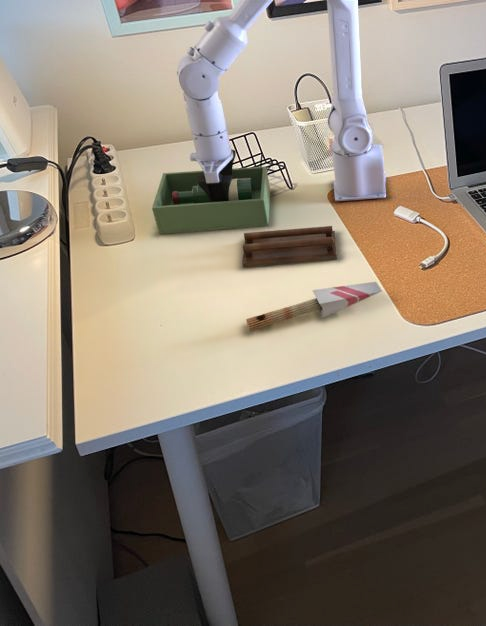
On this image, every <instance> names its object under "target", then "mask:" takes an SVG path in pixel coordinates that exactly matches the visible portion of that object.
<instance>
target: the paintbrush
mask: <svg viewBox="0 0 486 626" xmlns="http://www.w3.org/2000/svg"><path fill="white" fill-rule="evenodd" d="M311 291H312V293H313V295H314V297H315V298H313V299H310V300H306V301H302V302H299V303H296V304H292V305H289V306H285V307H282V308H279V309H275V310H271V311H268V312H265V313H262V314H259V315H255V316H252V317H248V318H246V319H245V321H246V324H247V328H248V331H249V332H251V331H255V330H258V329H261V328H264V327H267V326H272V325H274V324H277V323H278V324H279V323H281V322H285V321H287V320H288V321H289V320H290V319H293V318H297V317H300V316H303V315H306V314H310V313H313V312H316V311H318V313H319V316H320V317H321V318H322V319H324V318H326V317H328V316H331V315H333V314H335V313H337V312H341V311H342V310H344V309H346V308H348V307H350V306H353V305H356V304H357V303H360V302H362V301H365V300H367V299H368V298H370V297H373V296H375V295H377V294H379V293H381V292H383V290H382V288H381V286H380V285H379V284H378V282H377V281H371V282H363V283H355V284H349V285H341V286H333V287H326V288H325V287H324V288H319V289H312V290H311Z"/></svg>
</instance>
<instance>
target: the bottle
mask: <svg viewBox="0 0 486 626" xmlns="http://www.w3.org/2000/svg"><path fill="white" fill-rule="evenodd" d="M172 197H173V202H174V204H175V205H180V204H184V203H194V204H196V203H210V202H211V201H210V199H209V197H208V196H207V194H206V193H205V191H204V190H203V189H202V188H201V187H200V186H199V185H198V184H197V186H193V188H192V191H183V192H179V191H173V193H172ZM250 199H255V192H254V186H253V181H252V179H251V178H241V179H232V181H231V184H230V187H229V201H237V200H250Z"/></svg>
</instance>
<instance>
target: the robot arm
mask: <svg viewBox="0 0 486 626" xmlns="http://www.w3.org/2000/svg"><path fill="white" fill-rule="evenodd" d="M273 1H274V0H239V1H238V2H237V4H235V7H234V8H233V10H232V11H231V12H230V14H229V15H226V16H225V15H224V16H218V17H216V18H214V20H213V21H211V20H208V21H207V22H206V24H204V29H205V32H204V33H203V35H202V36H201V37H200V39H199V40H198V41H197V42H196V43H195V45H194V46H193V47H192V46H189V47H188V49H187V50H186V54H185V55H184V56H182V57H181V59H180V60H179V62H178V64H177V71H176V75H177V77H178V83H179V86H180V88H181V89H182V91H183V93H182V95H183V99H184V102H185V105H184V107H185V111H186V112H185V113H186V115H187V120H188V124H189V128H190V133H191V137H192V141H193V146H194V150H195V152H191V153H190V154H189V160H190V161H191V162H196V163H198V165H199V166H200V168H201V170H202V171H204V174H205V175H200V176H198V177H197V183H198V185H199V186H200V187H201V188H202V189H203V190H204V191H205V193H206V194H207V196H208V197H209V199H210V201H211V202H223V201H229V187H230V184H231V181H232V169H234V168H233V167H234V162H235V159H236V153H237V152H236V150H235V149H232V148H231V142H230V138H229V132H228V127H227V122H226V118H225V113H224V109H223V103H222V100H221V99H220V97H219V93H218V91H219V87H220V77H221V76H222V75H224V74H225V73H226V72H227V71H228V70H229V68H230V67H231V65H232V64H234V62H235V61H236V59H237V58H238V56H240V54H241V53H242V51H243V50H244V49H245V48H246V46H247V45H248V43H249V41H248V36H247V35H248V34H247V31H248V30H249V29H250V28H251V27H252V26H253V24H254V23H255V22H256V21H257V20H258V19H259V17H260V16H261V15H262V14H263V13H264V11H265V10H267V8H268V7H269V6H270V4H272V2H273ZM325 1H326V6H327V7H326V8H327V21H328V31H329V32H328V33H329V34H328V35H329V50H330V63H331V64H330V65H331V78H332V79H331V81H332V91H333V93H332V96H331V99H330V100H331V101H330V102H331V107H330V110H329V113H328V115H327V126H328V128H329V130H330V131H331V132H332V133H333V135H334V137H333V140H332V142H331V146H330V147H331V153H332V154H331V155H332V164H333V173H334V174H333V175H334V180H333V181H332V182H333V183H332V184H333V192H334V193H333V194H334V201H335V202H347V201H349V202H350V201H359V200H360V201H361V200H362V201H363V200H373V199H375V200H376V199H385V198H386V197H387V193H386V191H387V189H386V183H387V175H386V173H385V163H384V153H383V146H382V145H381V144H374V143H373V140H374V135H373V131H372V129H371V127H370V125H369V123H368V119H367V118H368V117H367V111H366V108H365V103H364V100H363V90H362V87H363V86H362V69H361V68H362V66H361V44H360V43H361V42H360V21H359V0H325Z"/></svg>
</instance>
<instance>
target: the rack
mask: <svg viewBox="0 0 486 626" xmlns="http://www.w3.org/2000/svg"><path fill="white" fill-rule="evenodd" d="M243 239H244V243H243V244H242V251H243V254H242V268H252V267H253V268H255V267H265V266H276V265H287V264H299V263H311V262H320V261H334V260H337V259H338V251H337V241H336V240H337V237H336V230H333V226H332V225H327V226H325V225H324V226H313V227H300V228H299V227H298V228H288V229H275V230H263V231H252V232H251V231H250V232H243Z"/></svg>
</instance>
